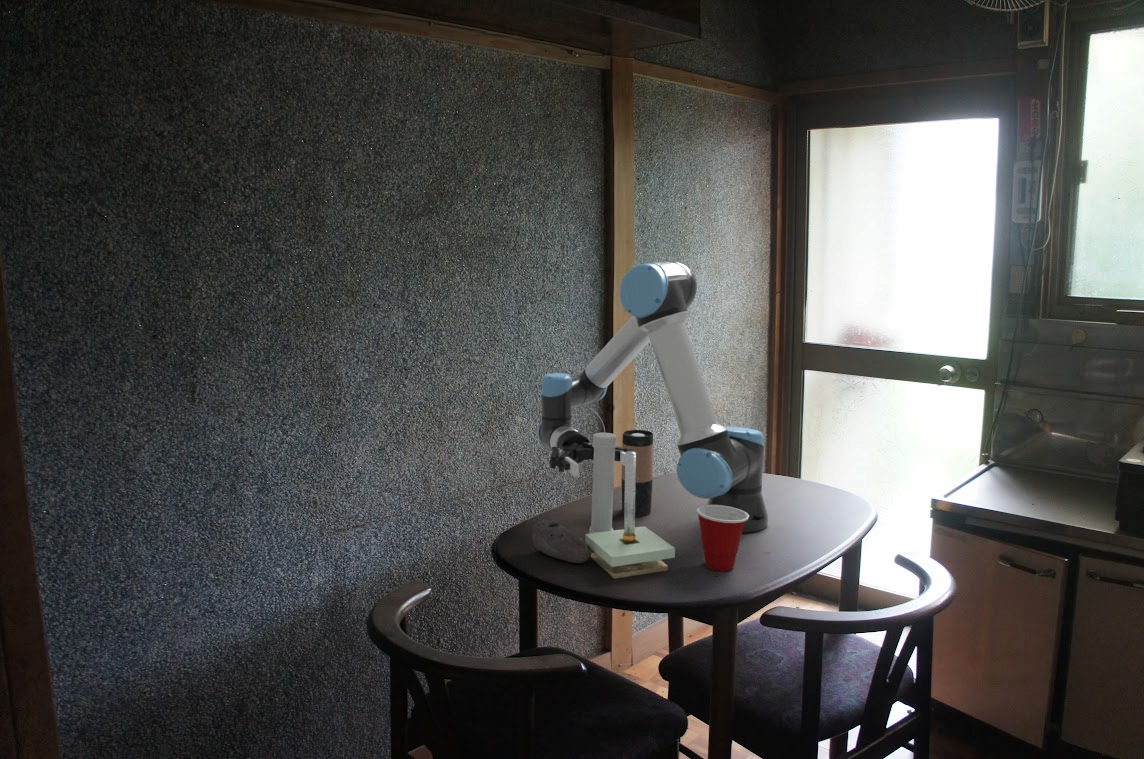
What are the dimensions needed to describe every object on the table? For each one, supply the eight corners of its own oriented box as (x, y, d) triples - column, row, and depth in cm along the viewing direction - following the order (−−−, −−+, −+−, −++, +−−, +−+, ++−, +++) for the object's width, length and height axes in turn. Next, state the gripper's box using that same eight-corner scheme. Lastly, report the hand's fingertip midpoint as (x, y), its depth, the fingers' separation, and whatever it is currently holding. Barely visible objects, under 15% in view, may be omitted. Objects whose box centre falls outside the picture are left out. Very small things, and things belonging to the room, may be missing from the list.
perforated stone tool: (596, 564, 178) (596, 533, 177) (578, 571, 175) (578, 539, 173) (547, 545, 189) (547, 515, 188) (529, 552, 185) (529, 521, 184)
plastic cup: (756, 573, 174) (759, 516, 172) (708, 578, 171) (710, 521, 169) (732, 554, 184) (734, 500, 182) (686, 559, 181) (687, 504, 179)
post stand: (591, 557, 182) (592, 448, 178) (642, 550, 186) (644, 443, 182) (614, 578, 171) (616, 462, 167) (667, 570, 175) (670, 456, 171)
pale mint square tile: (585, 543, 182) (585, 534, 182) (644, 535, 187) (644, 526, 187) (612, 566, 169) (612, 557, 169) (674, 557, 174) (675, 548, 174)
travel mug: (658, 513, 211) (660, 434, 207) (633, 518, 207) (635, 438, 203) (638, 505, 217) (640, 428, 214) (614, 510, 213) (615, 432, 209)
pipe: (610, 545, 189) (616, 412, 184) (583, 542, 190) (587, 410, 185) (615, 537, 194) (620, 407, 189) (588, 534, 196) (592, 405, 191)
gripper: (617, 455, 211) (656, 478, 192) (521, 464, 202) (552, 489, 183) (617, 425, 210) (657, 445, 191) (521, 434, 201) (552, 455, 182)
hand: (606, 467), depth 187 cm, fingers open, 13 cm apart
